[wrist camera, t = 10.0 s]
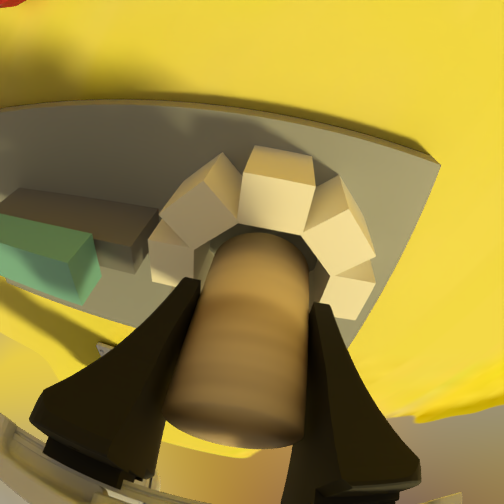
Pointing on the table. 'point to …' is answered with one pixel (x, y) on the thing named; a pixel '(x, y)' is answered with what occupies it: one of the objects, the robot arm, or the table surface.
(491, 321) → the table surface
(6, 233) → the bar
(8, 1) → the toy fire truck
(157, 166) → the board
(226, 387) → the peg
